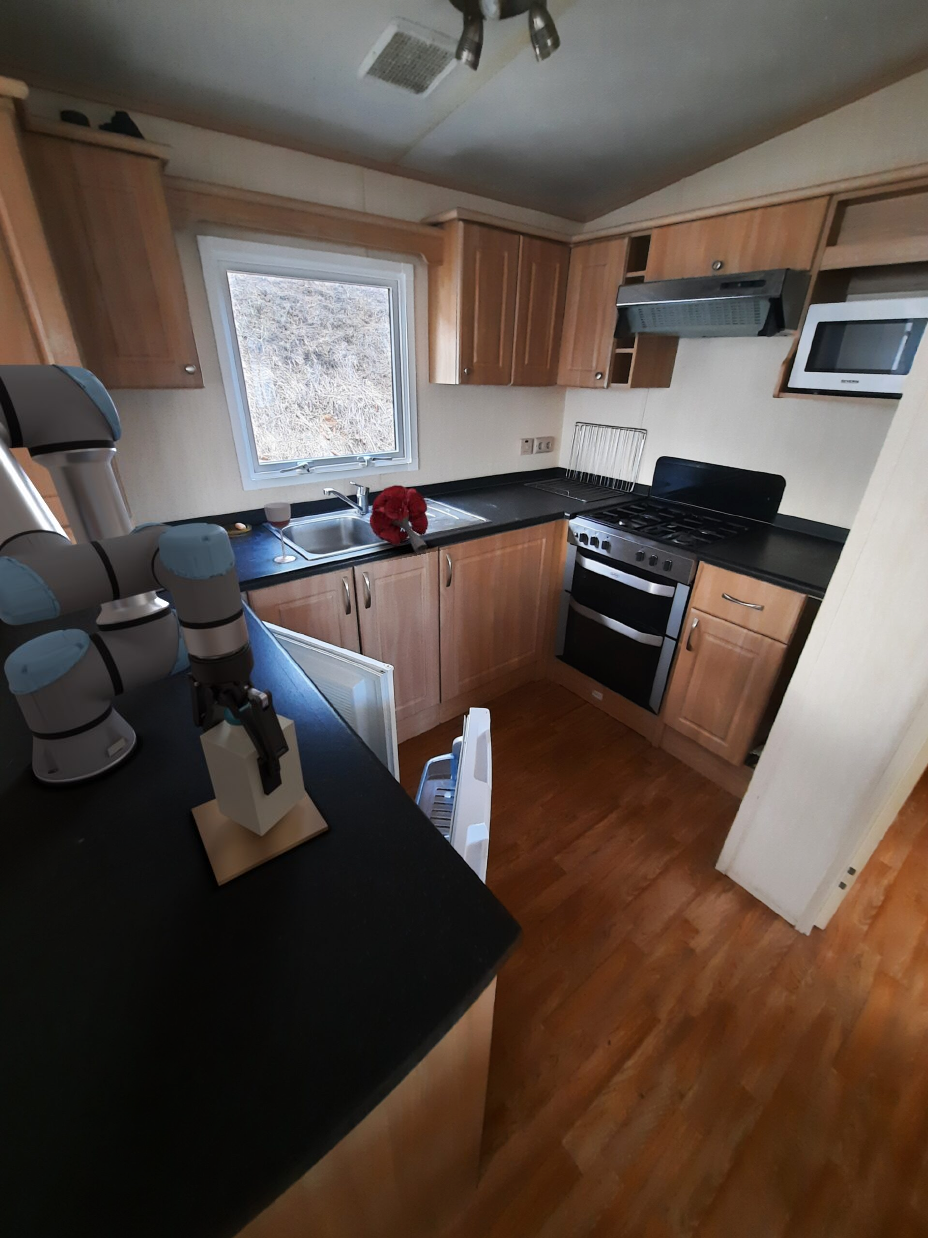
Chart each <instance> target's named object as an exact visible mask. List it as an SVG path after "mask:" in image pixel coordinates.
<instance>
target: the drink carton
mask: <svg viewBox="0 0 928 1238" xmlns="http://www.w3.org/2000/svg"><path fill="white" fill-rule="evenodd" d="M249 704H250V703H248V704H247V705H246V706H244V707H242V708H241V709H239V710H240V711H242V710H243V709H245V708H246V707H248V706H249ZM276 715H277V718H278V720H279V723H280V726H281V728H282V731H283V734H284V737H285V739H286V742H287V745H288V747H289V751H288V752H286V753H285V754H284V755H283V756H282V757H280V758H279V762H280V767H281V770H280V775H281V780H282V784H281V785H280V786H279V787H278V788H276V789H275V790H274V791H273V792H272V793H271V794H270V795H268V796H267V795H265V794H264V791H263V786H262V782H261V777H260V772H259V768H258V763H257V758H259V757H260V755H259V753H258V752H257V750H256V748H255V746H254V745H253V743H252V741H251V739H250V737H249V736H248V734H247V732H246V730H245V729H244V727H243V725H242V723H241V722H240V720H239V719H235V718H234V717H233V715H232V713H231V711H230V710H229V709H228V708H227V707H226V708H225V710H224V721H223V722H221V723H219V724H218V725H216V726H215V727H213V728H212V729H210V730H209V731H207V732H206V733H204V732H203V733H202V734H201V735H199V739H200V742H201V746H202V751H203V754H204V757H205V762H206V766H207V769H208V773H209V777H210V780H211V785H212V789H213V793H214V796H215V799H216V800H217V804H218V807H219V811H220V813H221V814H223V815H224V816H226V817H228V818H230V819H232V820H233V821H235V822H237V823H239V824H241V825H242V826H244V827H246V828H248V829H250V830H251V831H253V832H255V833H257V834H259V835H260V836H263V835H264V834H265V833H266V832H267V831H268V830H269V829H270V828H271V827H272V826H274V825H275V824H276V823H277V822H278V821H279V820H280V819H281V818H282V817H283V816H284V815H285V814H287V813H288V812H289V811H290V810H291V809H292V808H293V807H294V806H295V805H296V804H297V803H298V802H299V801H301V800H302V799H303V798H304V797H305V791H306V790H305V784H304V779H303V771H302V766H301V765H302V764H301V759H300V752H299V746H298V740H297V734H296V733H297V732H296V726H295V721H294V720H293V719H290V718H287V717H284V716H283V715H280V714H277V713H276Z"/></svg>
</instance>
